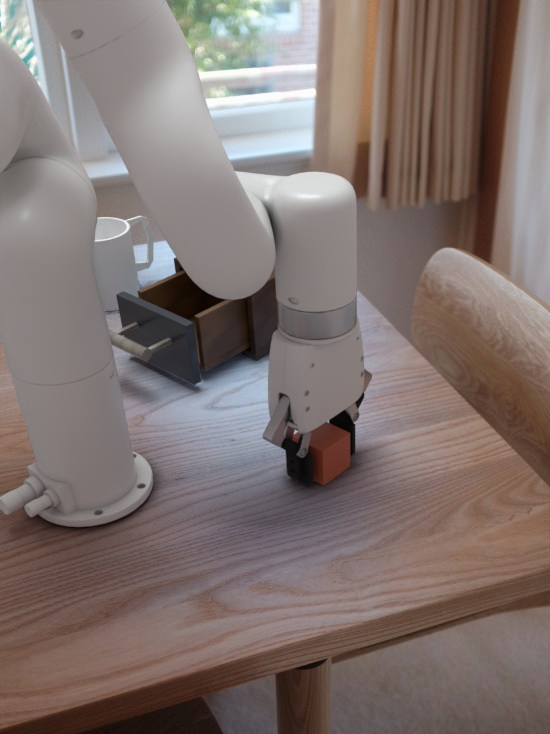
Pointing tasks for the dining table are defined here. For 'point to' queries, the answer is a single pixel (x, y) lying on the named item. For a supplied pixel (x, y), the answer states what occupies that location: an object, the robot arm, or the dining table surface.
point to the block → (328, 452)
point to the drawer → (181, 327)
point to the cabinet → (258, 317)
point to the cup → (118, 258)
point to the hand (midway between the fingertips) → (321, 463)
